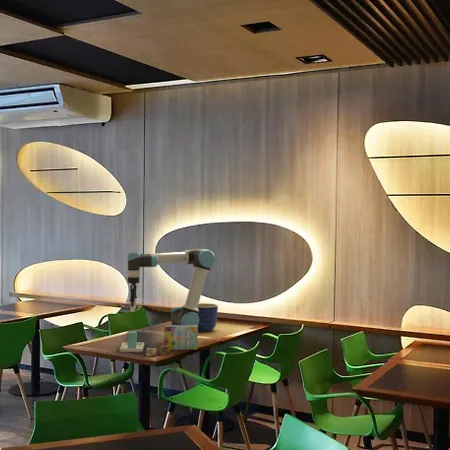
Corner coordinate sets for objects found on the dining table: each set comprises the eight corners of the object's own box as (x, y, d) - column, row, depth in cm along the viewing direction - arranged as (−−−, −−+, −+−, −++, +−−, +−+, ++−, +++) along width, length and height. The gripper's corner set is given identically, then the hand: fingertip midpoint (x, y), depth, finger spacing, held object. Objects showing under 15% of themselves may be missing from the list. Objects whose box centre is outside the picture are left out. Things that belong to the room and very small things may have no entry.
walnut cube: (167, 353, 381) (167, 345, 381) (169, 354, 377) (169, 346, 376) (159, 353, 380) (159, 345, 380) (161, 355, 375) (161, 347, 375)
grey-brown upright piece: (170, 343, 410) (170, 333, 410) (170, 345, 404) (170, 334, 404) (161, 343, 410) (161, 333, 410) (161, 345, 404) (161, 334, 404)
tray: (144, 345, 402) (144, 342, 402) (142, 352, 382) (142, 348, 382) (122, 345, 401) (122, 342, 401) (119, 352, 381) (119, 348, 381)
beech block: (156, 354, 376) (156, 348, 376) (154, 356, 372) (154, 349, 372) (148, 354, 377) (148, 347, 377) (146, 355, 373) (146, 349, 373)
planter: (221, 332, 454) (222, 306, 454) (195, 333, 446) (195, 307, 446) (211, 327, 473) (212, 302, 473) (186, 328, 466) (186, 303, 465)
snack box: (197, 348, 397) (197, 324, 397) (197, 350, 391) (197, 326, 391) (164, 347, 396) (165, 324, 396) (164, 349, 391) (164, 326, 390)
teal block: (136, 346, 394) (136, 331, 394) (135, 348, 389) (136, 332, 389) (128, 346, 394) (128, 331, 394) (127, 348, 389) (128, 332, 389)
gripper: (129, 274, 404) (128, 307, 404) (125, 278, 379) (125, 313, 379) (140, 274, 404) (140, 307, 404) (138, 278, 379) (137, 313, 380)
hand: (133, 310), depth 392 cm, fingers open, 13 cm apart
